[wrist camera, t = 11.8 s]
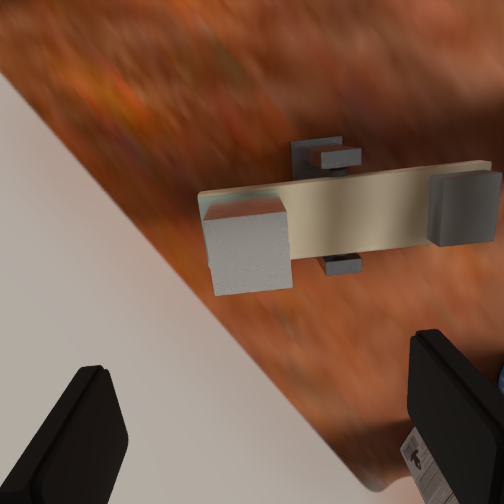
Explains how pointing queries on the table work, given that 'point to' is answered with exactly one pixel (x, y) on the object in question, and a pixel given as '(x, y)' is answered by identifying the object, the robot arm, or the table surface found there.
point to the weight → (248, 244)
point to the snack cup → (501, 381)
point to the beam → (382, 208)
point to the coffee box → (426, 471)
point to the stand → (317, 166)
